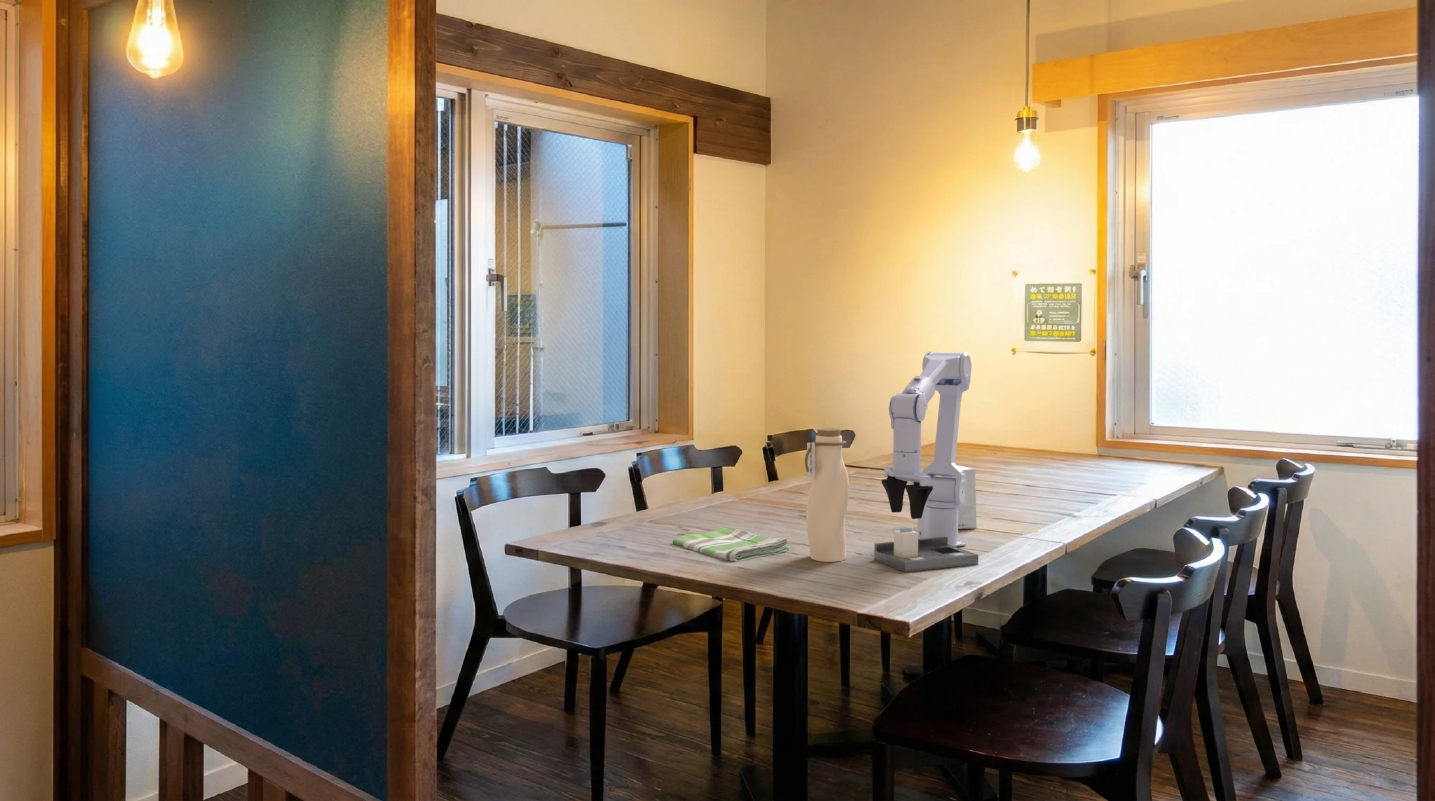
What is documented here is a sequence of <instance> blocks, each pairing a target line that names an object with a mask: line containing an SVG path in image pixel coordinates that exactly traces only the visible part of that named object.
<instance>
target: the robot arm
mask: <svg viewBox="0 0 1435 801" xmlns="http://www.w3.org/2000/svg"><path fill="white" fill-rule="evenodd" d="M921 364H922V366H921V368H922V372H921V374H920V375H915V376H914V377H913V378H912V379H910V382H908V384H907V385H906V387H904V389H903V390H902V392H901V393H895V395H893V396H891V397H890V400H889V404H888V405H889V406H888V415H889V418H890V426H891V427H890V428H891V429H893V430H892V431H893V435H892V436H893V437H892V439H893V442H892V444H893V445H892V448H893V449H892V453H893V454H892V455H893V456H892V466H890V467H888V466H887V467H884V472H883V473H884V474H883V475H884V477H886V478H883V479H881V480H880V481H881V484H882V486H883V488H884V490H885V493H886V495H887V499H888V502H889V507H890V512H891V513H901V512H902V511H903V507H904V506H903V505H904V497H905V496H904V495H905V490H906V493H907V496H908V500H909V514H910V517H911V519H912V520H917V532H918V539H926V538H936V537H948V544H949V545H951V546H954V547H964V546H966V545H967V543H965V542H963V541H959V529H958V507H959V506H961V505H962V504H963V503H964V502H965V499H966V494H967V487H966V475H965V473H964V472H963V470H961V469H960V468H959V467H958V466H959V465H957V464H956V458H957V456H956V455H957V444H958V436H959V435H958V434H959V427H960V426H959V425H960V415H961V407H962V406H961V403H962V397H963V393H964V392H966V391H968V390H969V389H970V384H971V376H972V360H971V357H970V355H969V354H968V352H967V351H963V352H934V351H933V352H932V351H927V352H926V353H925V355H924V356H923V358H922V363H921ZM935 391H936V392H938V394H939V404H938V413H937V423H936V433H935V442H934V443H935V444H934V452H933V462H931V463H930V464H929V465H927V466H926V467H924V468H923V469H921V467H922V462H921V461H922V460H921V459H922V422H923V421H925V418H926V413H927V410H928V406H929V405H928V403H930V401H931V400H932V398H933V397H934V396H935V393H936V392H935ZM921 470H922V471H921ZM942 476H951V477H955V478H946V477H942ZM908 483H912V484H908Z"/></svg>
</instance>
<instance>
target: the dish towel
mask: <svg viewBox="0 0 1435 801" xmlns="http://www.w3.org/2000/svg"><path fill="white" fill-rule="evenodd" d="M672 544H673V545H675V546H679V547H681V548H685V549H687V550H690V551H693V552H697V553H700V554H703V555H706V556H710V557H712V558H718V559H721V560H725V561H729V562H736V563H737V562H742V561H747V560H751V559H752V560H753V559H756V558H761V557H766V556H767V557H768V556H771V555H778V554H781V553H788V552H789V549H791V547H790V543H789V542H788V539H787V538H786V537H779V538H777V537H769V536H766V535H760V534H753V533H751V532H748V531H746V530H742V529H739V528H738V529H737V528H734V527H729V526H728V527H727V526H725V527H722V528H718V529H716V530H712V531H709V532H706V533H702V534H698V533H692V534H691V533H690V534H683V535H680V536H677V537H676V538H674V539H672Z"/></svg>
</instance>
